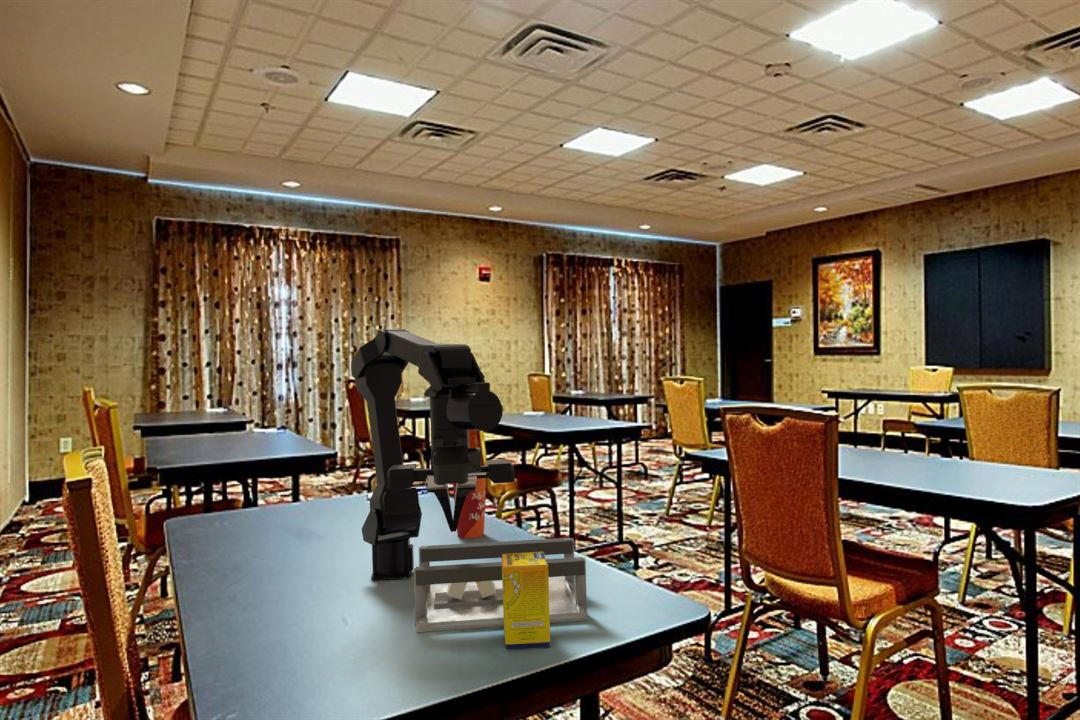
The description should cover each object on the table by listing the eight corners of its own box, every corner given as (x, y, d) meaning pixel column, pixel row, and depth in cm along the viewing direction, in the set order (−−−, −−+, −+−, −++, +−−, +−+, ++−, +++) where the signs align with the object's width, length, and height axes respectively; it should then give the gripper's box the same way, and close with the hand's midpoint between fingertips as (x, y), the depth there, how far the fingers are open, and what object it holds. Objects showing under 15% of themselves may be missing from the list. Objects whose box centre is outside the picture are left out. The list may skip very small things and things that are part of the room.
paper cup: (483, 540, 144) (481, 472, 143) (447, 539, 145) (445, 472, 145) (493, 530, 151) (491, 466, 151) (459, 530, 153) (457, 466, 153)
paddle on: (447, 595, 103) (453, 576, 103) (447, 588, 107) (453, 569, 107) (461, 599, 103) (467, 580, 104) (461, 592, 107) (467, 573, 107)
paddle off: (482, 598, 104) (474, 579, 104) (481, 590, 107) (474, 572, 107) (496, 592, 104) (488, 574, 104) (495, 585, 107) (487, 567, 107)
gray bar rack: (414, 628, 98) (413, 571, 98) (420, 596, 111) (419, 546, 111) (588, 616, 101) (586, 560, 101) (573, 586, 114) (572, 537, 114)
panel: (416, 632, 97) (416, 619, 97) (423, 593, 112) (422, 582, 112) (587, 620, 99) (587, 607, 99) (570, 583, 115) (570, 572, 115)
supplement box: (503, 633, 96) (500, 553, 95) (546, 630, 96) (544, 550, 96) (504, 651, 90) (502, 566, 90) (551, 648, 90) (548, 563, 90)
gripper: (381, 436, 96) (384, 549, 96) (516, 429, 98) (520, 540, 98) (388, 428, 107) (392, 530, 107) (510, 422, 109) (513, 522, 109)
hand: (453, 531), depth 105 cm, fingers closed
